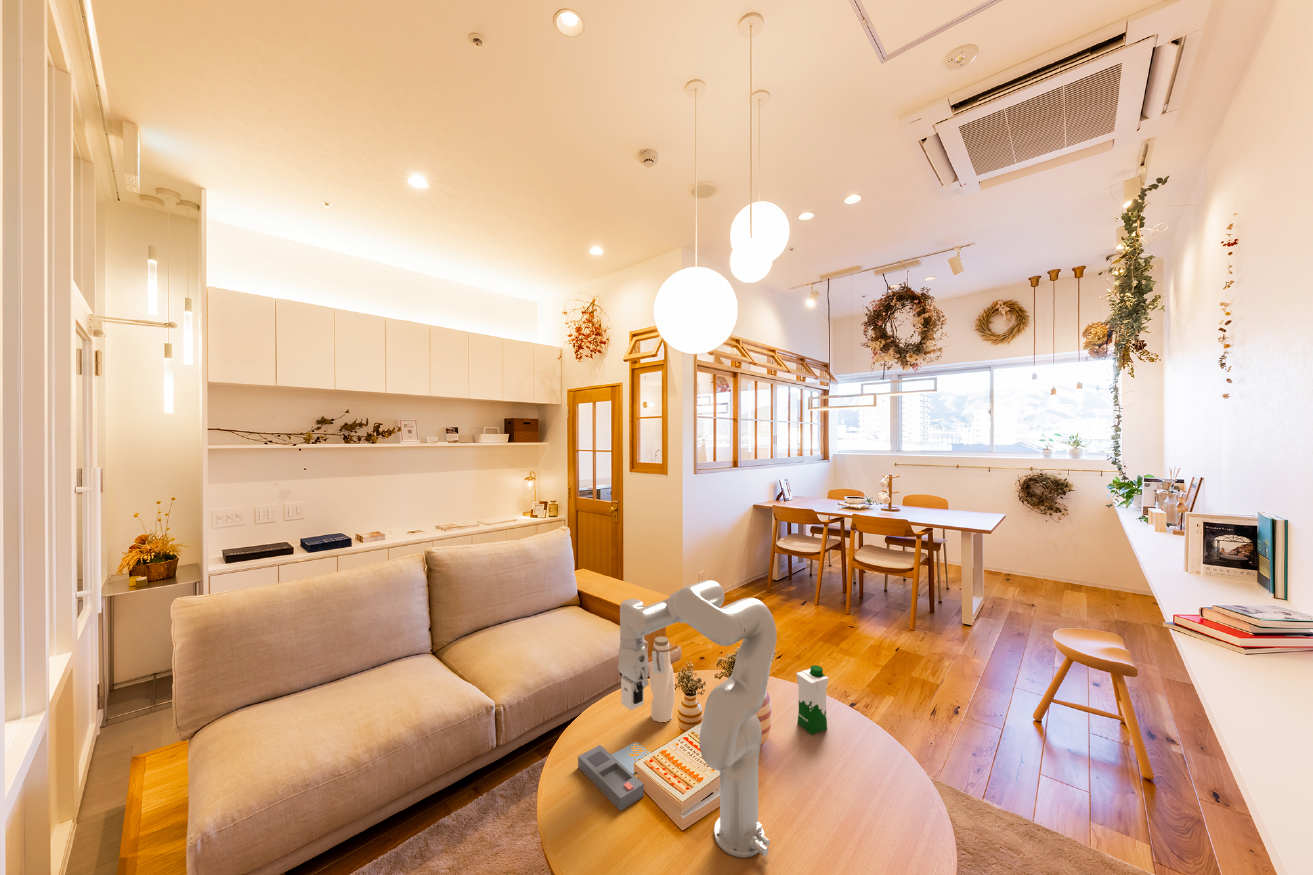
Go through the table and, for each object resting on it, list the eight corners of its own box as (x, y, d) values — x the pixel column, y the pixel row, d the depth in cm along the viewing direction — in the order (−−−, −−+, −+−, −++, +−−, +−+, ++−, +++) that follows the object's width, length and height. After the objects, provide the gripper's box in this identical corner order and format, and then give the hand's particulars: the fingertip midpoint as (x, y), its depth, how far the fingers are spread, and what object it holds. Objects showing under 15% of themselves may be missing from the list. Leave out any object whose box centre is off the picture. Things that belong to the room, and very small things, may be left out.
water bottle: (674, 726, 163) (674, 646, 163) (649, 726, 163) (648, 646, 163) (674, 709, 173) (674, 634, 173) (650, 709, 174) (649, 634, 173)
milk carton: (831, 730, 161) (831, 672, 161) (811, 737, 157) (810, 678, 157) (812, 716, 169) (812, 661, 169) (793, 722, 165) (793, 666, 165)
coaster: (657, 760, 146) (657, 758, 146) (629, 776, 139) (629, 775, 139) (635, 742, 155) (635, 741, 155) (608, 757, 148) (608, 756, 148)
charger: (643, 704, 147) (643, 678, 147) (630, 710, 143) (630, 684, 143) (633, 697, 150) (633, 672, 150) (621, 703, 147) (620, 678, 147)
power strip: (643, 796, 132) (643, 782, 132) (620, 811, 127) (620, 796, 127) (600, 755, 149) (599, 743, 149) (578, 767, 143) (578, 754, 143)
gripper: (659, 646, 143) (659, 705, 143) (625, 628, 156) (625, 683, 156) (639, 653, 138) (640, 715, 138) (606, 635, 151) (607, 691, 151)
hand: (632, 697), depth 147 cm, fingers closed on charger, 5 cm apart
